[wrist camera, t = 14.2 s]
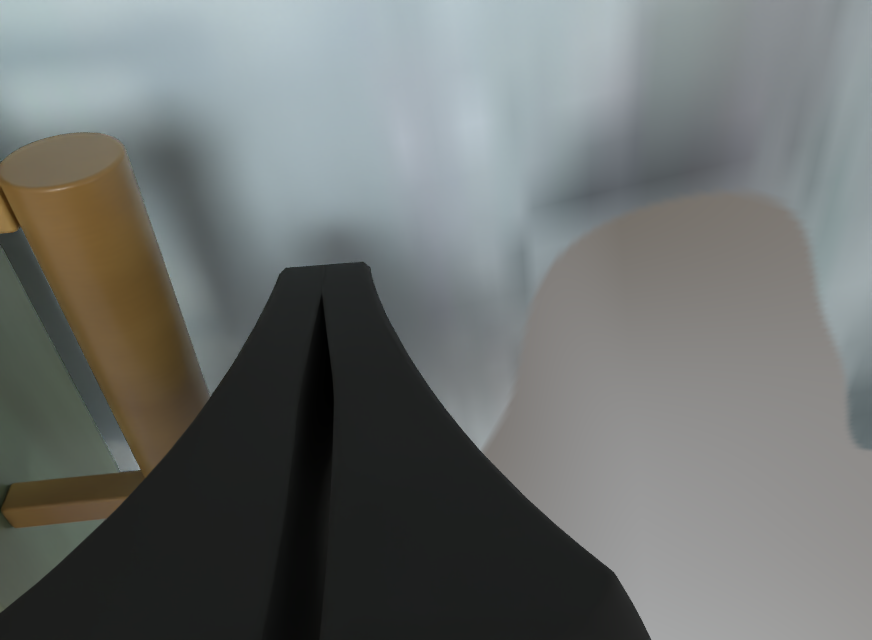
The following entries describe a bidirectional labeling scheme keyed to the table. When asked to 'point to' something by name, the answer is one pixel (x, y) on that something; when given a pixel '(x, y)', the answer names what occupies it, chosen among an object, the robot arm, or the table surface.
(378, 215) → the table surface
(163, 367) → the drawer
